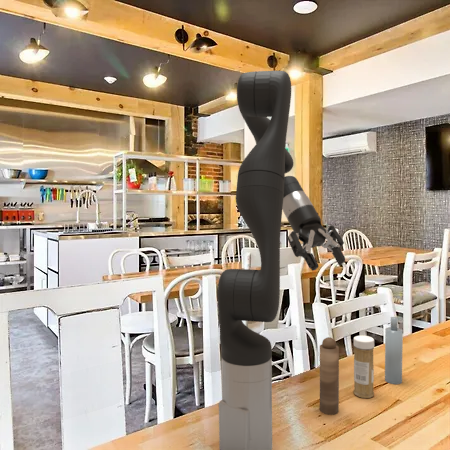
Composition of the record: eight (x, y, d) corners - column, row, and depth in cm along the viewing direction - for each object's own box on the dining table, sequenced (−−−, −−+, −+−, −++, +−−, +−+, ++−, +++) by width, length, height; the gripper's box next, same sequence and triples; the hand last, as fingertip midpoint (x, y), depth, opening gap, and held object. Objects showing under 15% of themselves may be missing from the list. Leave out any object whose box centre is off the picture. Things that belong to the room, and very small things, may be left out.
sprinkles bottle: (378, 395, 99) (378, 338, 98) (365, 400, 96) (365, 342, 96) (361, 388, 103) (362, 333, 102) (349, 393, 100) (349, 337, 99)
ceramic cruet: (399, 385, 104) (399, 321, 103) (382, 381, 106) (383, 318, 105) (404, 380, 107) (405, 317, 106) (387, 376, 109) (388, 314, 108)
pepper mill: (333, 416, 90) (333, 342, 89) (316, 410, 92) (316, 338, 91) (341, 409, 93) (342, 337, 92) (324, 403, 95) (324, 333, 94)
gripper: (284, 206, 105) (314, 263, 98) (328, 201, 112) (359, 253, 104) (271, 223, 111) (299, 278, 103) (314, 217, 117) (342, 268, 110)
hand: (329, 265), depth 104 cm, fingers open, 8 cm apart
